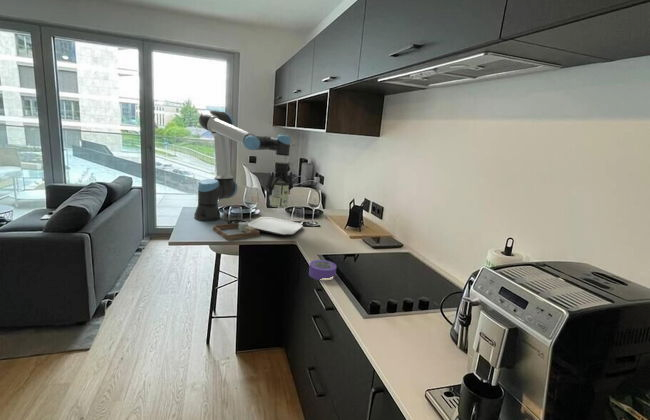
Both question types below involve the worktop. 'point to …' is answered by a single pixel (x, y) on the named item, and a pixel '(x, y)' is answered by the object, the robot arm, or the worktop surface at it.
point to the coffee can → (280, 194)
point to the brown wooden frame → (234, 236)
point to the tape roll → (322, 269)
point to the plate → (275, 226)
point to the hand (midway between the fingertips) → (278, 200)
